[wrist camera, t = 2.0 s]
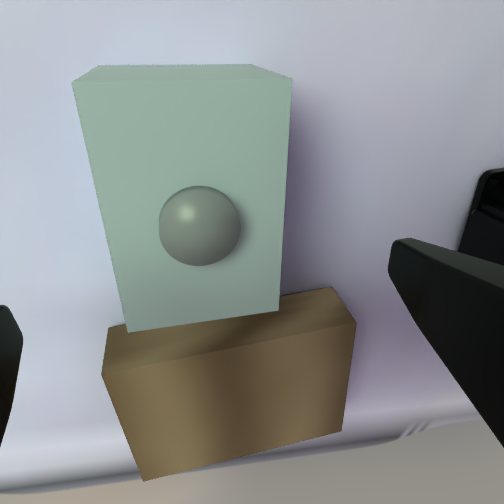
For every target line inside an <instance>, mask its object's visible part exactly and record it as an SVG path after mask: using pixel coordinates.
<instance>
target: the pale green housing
mask: <svg viewBox="0 0 504 504" xmlns="http://www.w3.org/2000/svg"><path fill="white" fill-rule="evenodd" d="M71 83H72V87H73V91H74V96H75V100H76V105H77V109H78V114H79V118H80V123H81V127H82V131H83V136H84V140H85V145H86V149H87V154H88V158H89V163H90V167H91V171H92V176H93V180H94V185H95V189H96V194H97V198H98V203H99V207H100V211H101V216H102V220H103V225H104V229H105V234H106V238H107V243H108V247H109V251H110V256H111V260H112V265H113V269H114V274H115V278H116V282H117V287H118V291H119V296H120V300H121V305H122V309H123V314H124V318H125V322H126V327H127V331H128V333H129V332H136V331H143V330H149V329H156V328H163V327H170V326H177V325H184V324H190V323H197V322H204V321H211V320H218V319H225V318H232V317H238V316H245V315H252V314H259V313H266V312H273V311H279V295H280V278H281V261H282V244H283V227H284V210H285V193H286V175H287V158H288V141H289V124H290V107H291V90H292V78H289V77H286V76H283V75H280V74H277V73H274V72H271V71H269V70H266V69H263V68H260V67H257V66H254V65H251V64H243V65H126V66H97V67H95V68H94V69H92V70H90V71H89V72H87V73H86V74H84V75H82V76H81V77H79V78H78V79H76V80H74V81H73V82H71Z"/></svg>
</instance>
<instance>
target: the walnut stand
mask: <svg viewBox="0 0 504 504" xmlns="http://www.w3.org/2000/svg"><path fill="white" fill-rule="evenodd" d="M355 330H356V321H355V320H354V318H353V317H352V315H351V314H350V313H349V311H348V310H347V308H346V307H345V305H344V304H343V302H342V301H341V300H340V298H339V297H338V295H337V294H336V292H335V291H334V289H333V288H332V287H329V288H323V289H318V290H312V291H307V292H301V293H296V294H290V295H285V296H279V311H273V312H266V313H259V314H252V315H245V316H238V317H232V318H225V319H218V320H211V321H204V322H197V323H190V324H184V325H177V326H170V327H163V328H156V329H149V330H143V331H136V332H129V333H128V331H127V327H126V325H121V326H116V327H110V328H108V334H107V340H106V347H105V353H104V360H103V366H102V373H101V375H102V378H103V380H104V383H105V385H106V388H107V391H108V393H109V396H110V398H111V401H112V403H113V406H114V408H115V411H116V413H117V416H118V419H119V421H120V424H121V426H122V429H123V431H124V434H125V436H126V439H127V441H128V444H129V447H130V449H131V452H132V454H133V457H134V459H135V462H136V464H137V467H138V469H139V472H140V475H141V477H142V480H143V481H147V480H151V479H155V478H159V477H163V476H167V475H171V474H175V473H179V472H183V471H187V470H191V469H195V468H198V467H202V466H206V465H210V464H214V463H218V462H222V461H226V460H230V459H234V458H238V457H242V456H246V455H250V454H254V453H257V452H261V451H265V450H269V449H273V448H277V447H281V446H285V445H289V444H293V443H297V442H301V441H305V440H309V439H313V438H316V437H320V436H324V435H328V434H332V433H336V432H340V431H341V430H342V423H343V416H344V409H345V402H346V395H347V387H348V380H349V373H350V366H351V359H352V352H353V345H354V337H355Z"/></svg>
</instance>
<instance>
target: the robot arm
mask: <svg viewBox="0 0 504 504" xmlns="http://www.w3.org/2000/svg"><path fill="white" fill-rule="evenodd" d="M490 180H491V181H490ZM388 273H389V276H390V278H391V280H392V282H393V284H394V285H395V287H396V289H397V291H398V293H399V294H400V296H401V298H402V300H403V302H404V303H405V305H406V307H407V309H408V311H409V312H410V314H411V316H412V318H413V319H414V321H415V323H416V324H417V326H418V327H419V329H420V330H421V332H422V333H423V335H424V336H425V337H426V339H427V340H428V342H429V343H430V344H431V346H432V347H433V349H434V350H435V351H436V353H437V354H438V356H439V357H440V359H441V360H442V361H443V363H444V364H445V366H446V367H447V368H448V370H449V371H450V373H451V374H452V375H453V377H454V378H455V380H456V381H457V383H458V384H459V385H460V387H461V388H462V390H463V391H464V392H465V394H466V395H467V397H468V398H469V399H470V401H471V402H472V404H473V405H474V406H475V408H476V409H477V411H478V412H479V414H480V415H481V416H482V418H483V419H484V421H485V422H486V423H487V425H488V426H489V428H490V429H491V430H492V432H493V433H494V435H495V436H496V437H497V439H498V440H499V442H500V443H501V444H502V446H503V447H504V168H499V169H492V170H488V171H486V172H485V173H483V175H482V176H481V177H480V179H479V182H478V186H477V189H476V193H475V196H474V199H473V203H472V206H471V210H470V213H469V216H468V220H467V223H466V226H465V230H464V233H463V237H462V240H461V243H460V247H459V250H458V252H456V251H453V250H449V249H446V248H443V247H440V246H436V245H433V244H430V243H426V242H423V241H420V240H416V239H413V238H405V239H399V240H395V241H394V242H393V244H392V247H391V253H390V258H389V264H388ZM22 347H23V336H22V332H21V330H20V328H19V326H18V324H17V322H16V321H15V319H14V317H13V315H12V313H11V311H10V309H9V308H8V307H7V306H5V305H0V446H1V443H2V439H3V436H4V433H5V429H6V426H7V423H8V419H9V416H10V412H11V408H12V403H13V399H14V393H15V387H16V382H17V376H18V370H19V364H20V358H21V352H22Z"/></svg>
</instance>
